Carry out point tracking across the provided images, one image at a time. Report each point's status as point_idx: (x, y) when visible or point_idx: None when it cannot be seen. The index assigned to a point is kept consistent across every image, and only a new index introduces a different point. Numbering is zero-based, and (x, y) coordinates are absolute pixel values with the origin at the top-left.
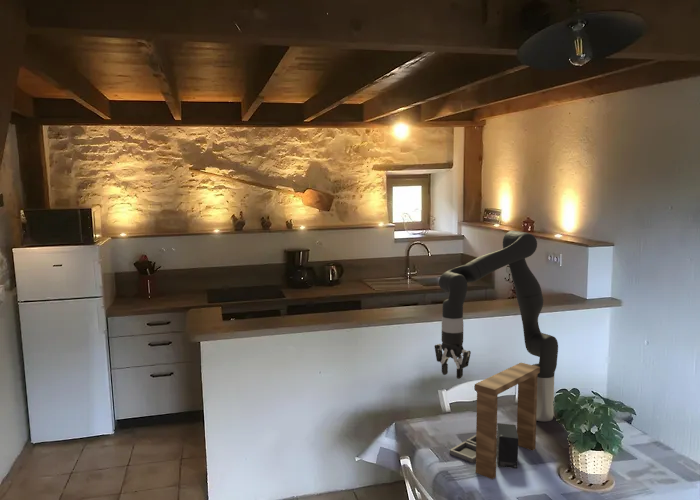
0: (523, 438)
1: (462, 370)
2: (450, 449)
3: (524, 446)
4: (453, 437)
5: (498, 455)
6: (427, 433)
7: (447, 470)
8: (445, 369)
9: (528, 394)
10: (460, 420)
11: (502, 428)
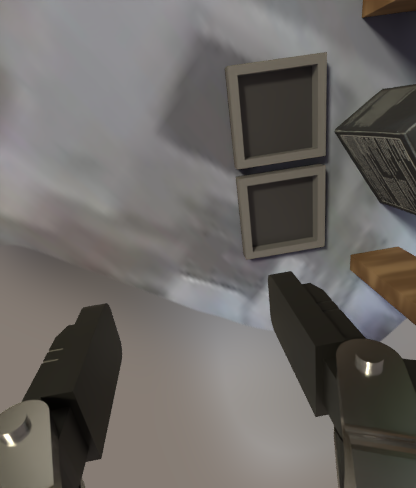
0: (414, 1)
1: (355, 335)
2: (246, 256)
3: (396, 11)
4: (172, 163)
5: (403, 209)
6: (95, 213)
7: None
8: (105, 374)
9: None
10: (63, 2)
11: None
